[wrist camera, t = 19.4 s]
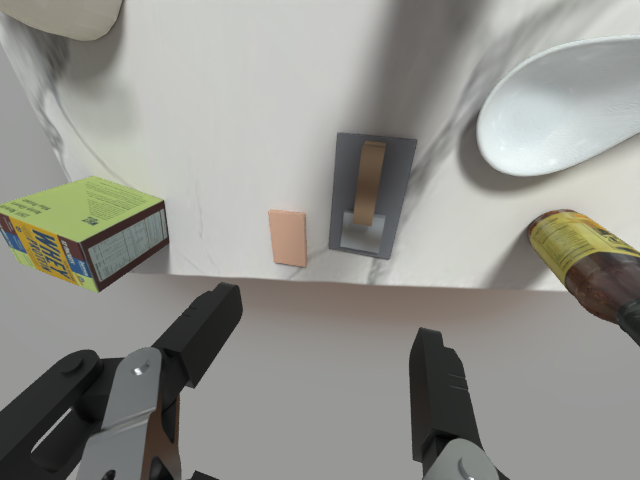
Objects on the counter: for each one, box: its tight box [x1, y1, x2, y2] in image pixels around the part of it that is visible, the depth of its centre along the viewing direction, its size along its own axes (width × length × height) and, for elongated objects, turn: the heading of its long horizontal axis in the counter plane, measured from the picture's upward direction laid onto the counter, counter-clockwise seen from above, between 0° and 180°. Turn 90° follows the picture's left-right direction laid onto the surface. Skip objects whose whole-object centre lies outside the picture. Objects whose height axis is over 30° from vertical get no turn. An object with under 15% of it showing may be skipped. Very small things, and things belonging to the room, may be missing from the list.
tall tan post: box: [340, 141, 386, 253], centre depth 35 cm, size 16×6×4 cm, turn 177°
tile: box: [268, 210, 307, 267], centre depth 44 cm, size 2×6×10 cm
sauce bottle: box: [528, 209, 640, 346], centre depth 25 cm, size 7×6×20 cm
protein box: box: [0, 176, 169, 293], centre depth 45 cm, size 10×15×16 cm
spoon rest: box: [476, 34, 640, 177], centre depth 23 cm, size 24×12×7 cm, turn 119°
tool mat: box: [329, 133, 417, 259], centre depth 37 cm, size 18×10×1 cm, turn 177°
